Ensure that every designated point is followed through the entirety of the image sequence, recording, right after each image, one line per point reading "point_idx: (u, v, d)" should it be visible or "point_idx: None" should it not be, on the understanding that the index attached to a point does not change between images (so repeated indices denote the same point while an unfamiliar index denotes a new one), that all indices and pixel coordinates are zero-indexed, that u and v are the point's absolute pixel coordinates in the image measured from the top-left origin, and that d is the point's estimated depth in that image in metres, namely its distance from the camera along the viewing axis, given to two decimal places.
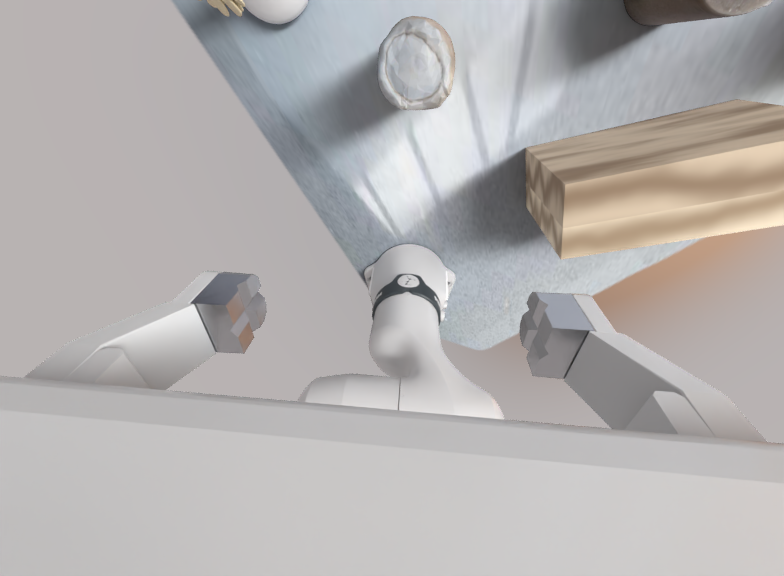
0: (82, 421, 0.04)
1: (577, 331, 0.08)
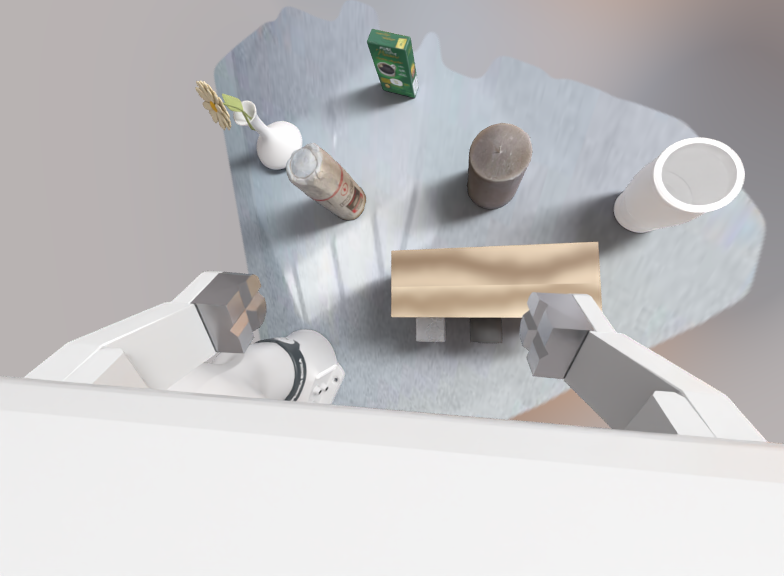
0: (82, 421, 0.04)
1: (577, 331, 0.08)
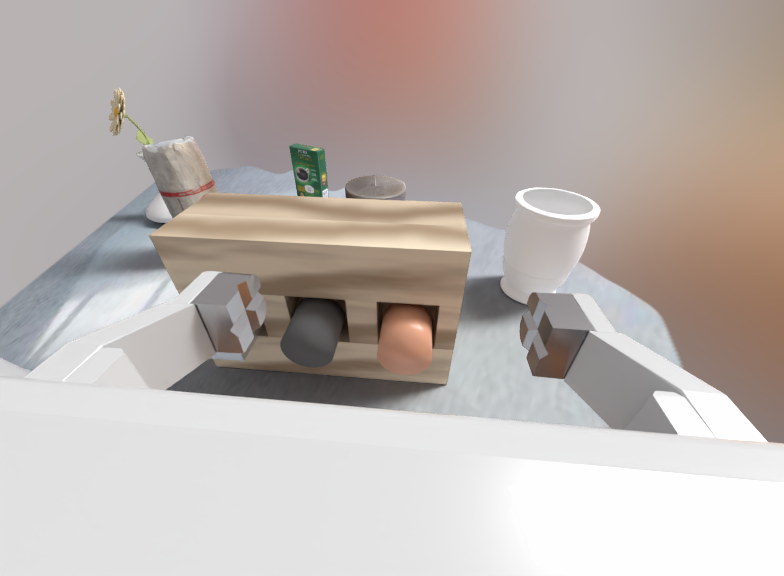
0: (82, 421, 0.04)
1: (577, 331, 0.08)
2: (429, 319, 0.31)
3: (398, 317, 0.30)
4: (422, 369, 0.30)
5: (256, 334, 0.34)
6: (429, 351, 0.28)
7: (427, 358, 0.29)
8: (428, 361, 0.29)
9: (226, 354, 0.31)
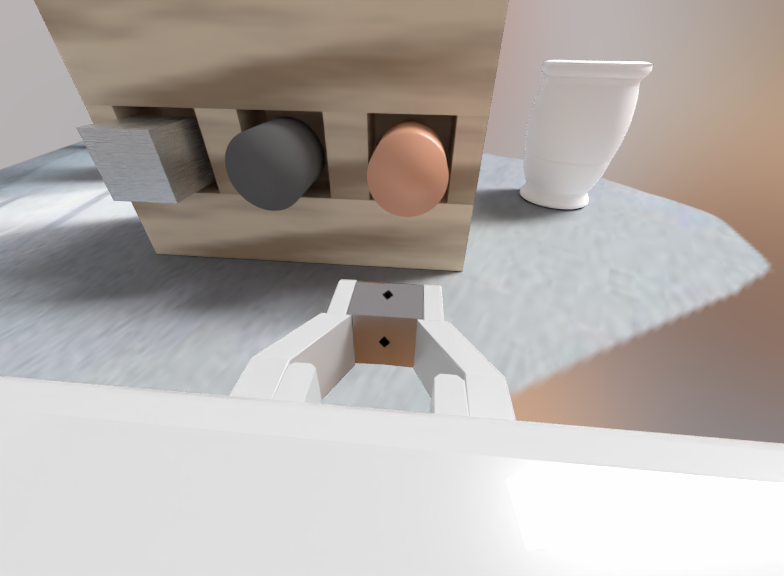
0: (82, 421, 0.04)
1: (409, 319, 0.08)
2: (442, 144, 0.22)
3: (399, 127, 0.20)
4: (433, 203, 0.20)
5: (200, 182, 0.24)
6: (445, 162, 0.19)
7: (442, 177, 0.19)
8: (442, 184, 0.20)
9: (150, 191, 0.21)
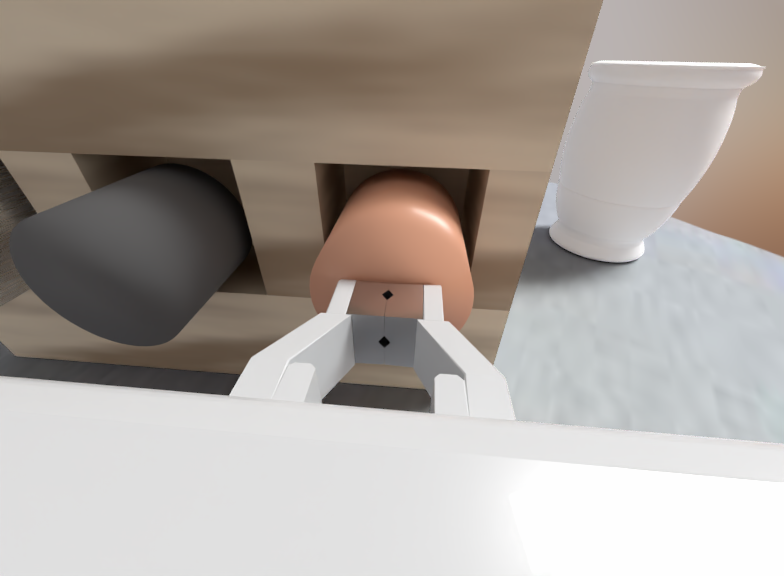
0: (82, 421, 0.04)
1: (409, 320, 0.08)
2: (457, 214, 0.12)
3: (375, 192, 0.11)
4: None
5: None
6: (467, 275, 0.09)
7: (460, 300, 0.10)
8: (461, 310, 0.10)
9: None
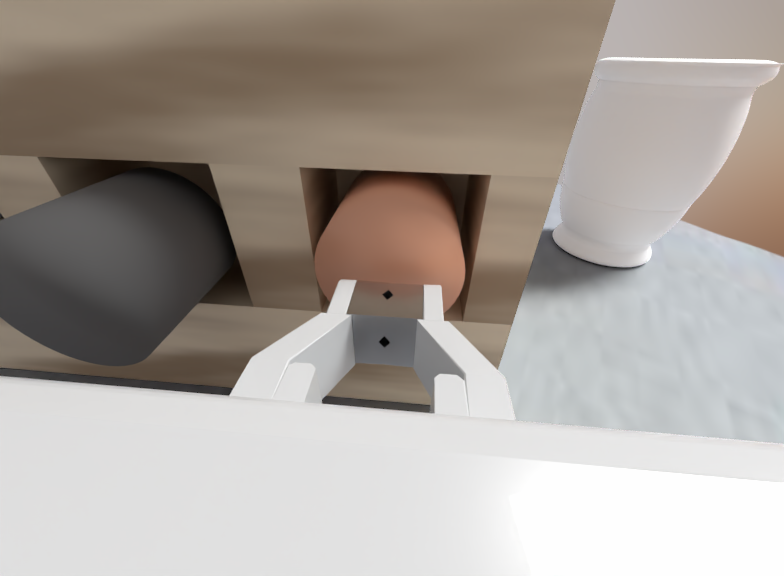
0: (82, 421, 0.04)
1: (409, 319, 0.08)
2: (451, 199, 0.13)
3: (375, 177, 0.11)
4: None
5: None
6: (458, 251, 0.10)
7: (452, 275, 0.10)
8: (453, 284, 0.11)
9: None
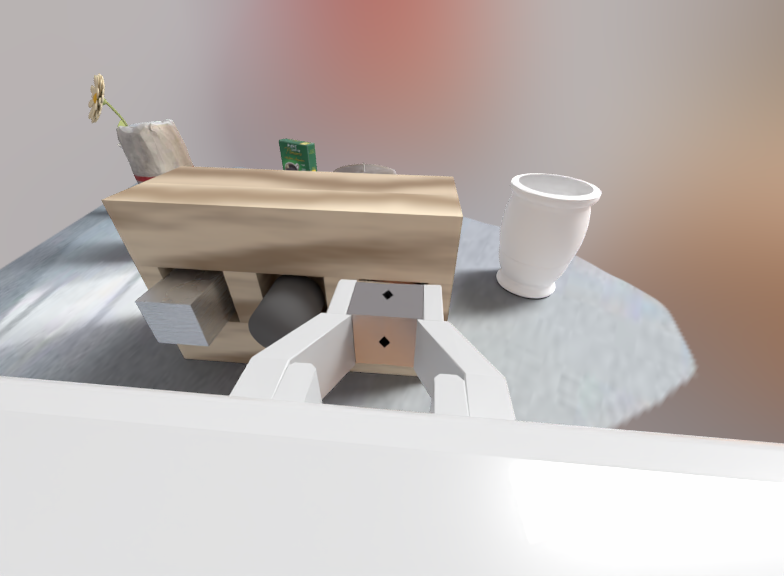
0: (82, 421, 0.04)
1: (409, 320, 0.08)
2: (418, 282, 0.30)
3: None
4: None
5: (225, 318, 0.30)
6: None
7: None
8: None
9: (188, 338, 0.27)
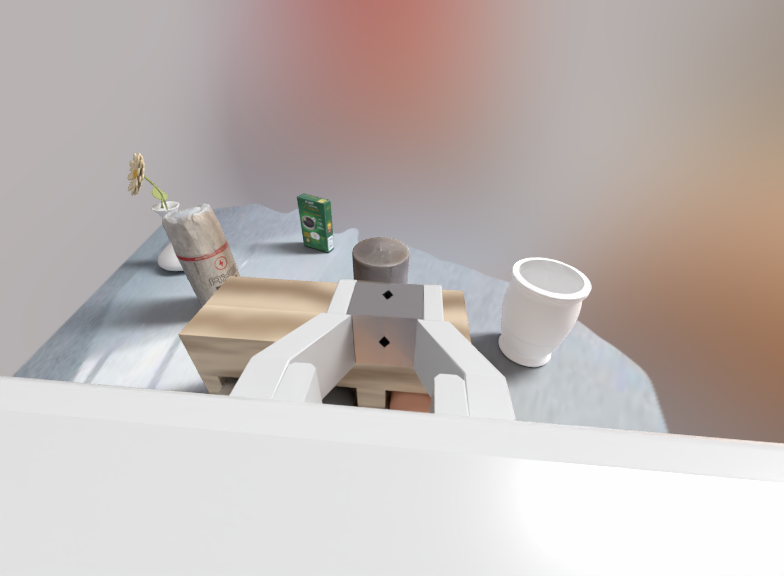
0: (82, 421, 0.04)
1: (408, 319, 0.08)
2: None
3: None
4: None
5: None
6: None
7: None
8: None
9: None
